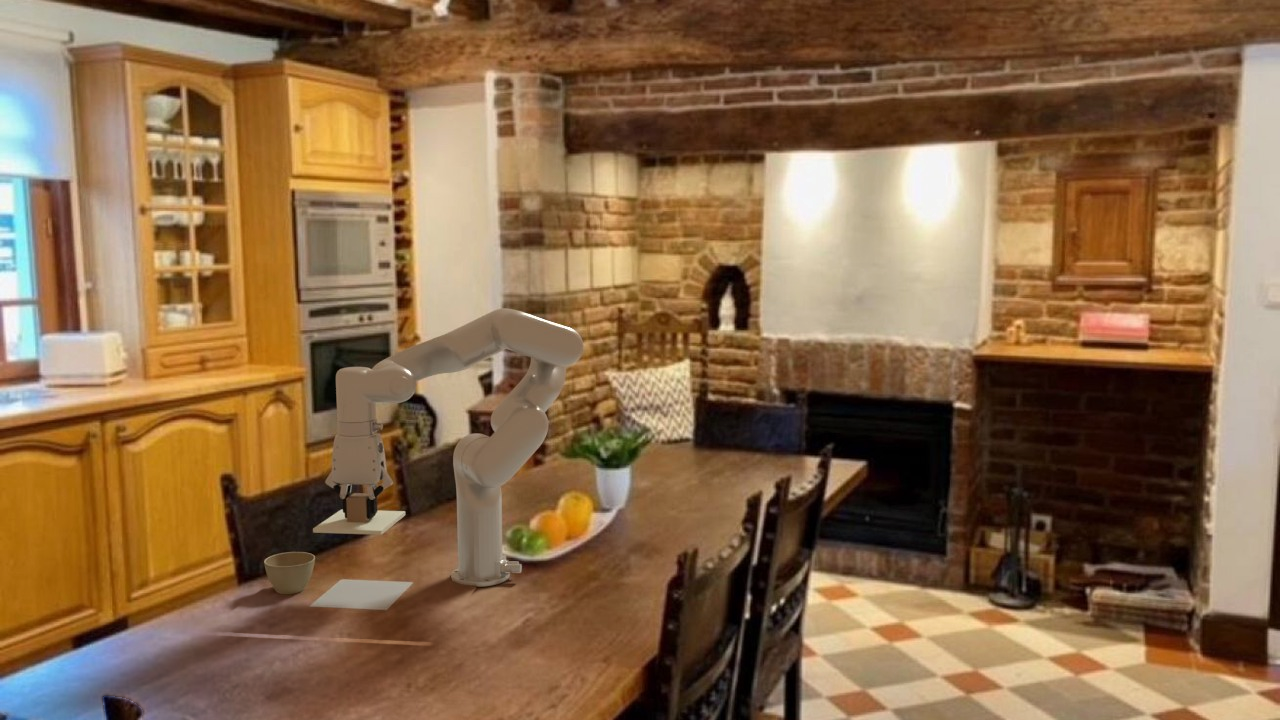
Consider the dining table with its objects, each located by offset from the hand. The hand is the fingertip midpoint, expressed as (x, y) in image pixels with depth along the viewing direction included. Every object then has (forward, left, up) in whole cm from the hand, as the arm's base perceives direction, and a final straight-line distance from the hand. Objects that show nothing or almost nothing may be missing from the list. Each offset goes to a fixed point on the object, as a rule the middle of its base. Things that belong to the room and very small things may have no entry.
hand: (360, 515), depth 207 cm
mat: (0, 0, -17) cm, 17 cm away
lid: (0, 0, -2) cm, 2 cm away
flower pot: (+16, -1, -17) cm, 24 cm away
